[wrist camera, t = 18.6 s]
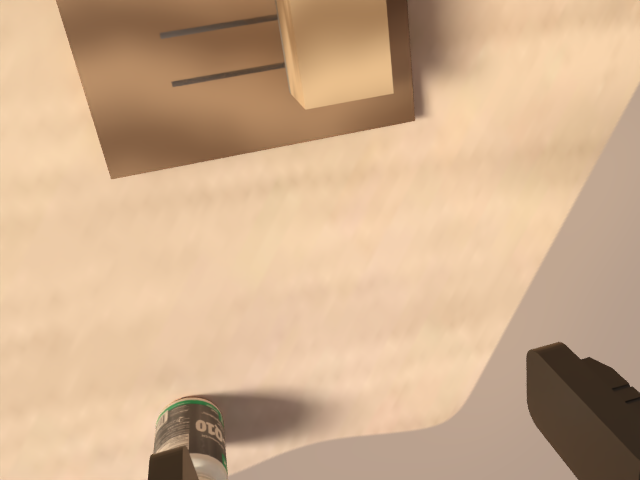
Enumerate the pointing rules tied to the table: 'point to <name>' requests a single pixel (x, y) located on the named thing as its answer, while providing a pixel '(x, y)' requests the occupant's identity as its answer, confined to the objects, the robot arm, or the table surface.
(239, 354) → the table surface
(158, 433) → the pill bottle
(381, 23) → the block
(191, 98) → the board
